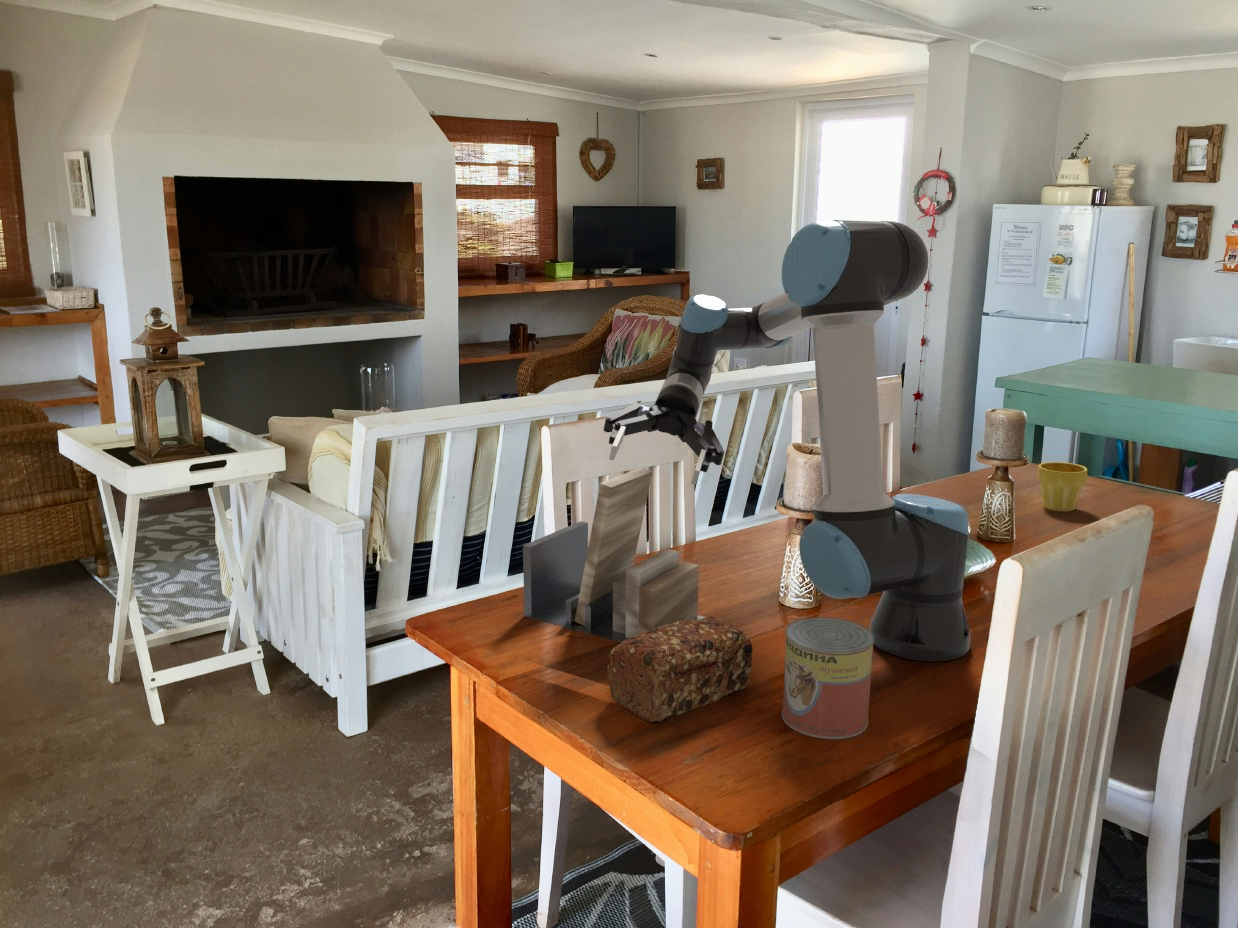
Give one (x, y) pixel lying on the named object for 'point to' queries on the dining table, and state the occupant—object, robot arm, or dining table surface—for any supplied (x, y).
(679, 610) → the offcut stack
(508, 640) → the dining table surface
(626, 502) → the plywood sheet
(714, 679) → the bread
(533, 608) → the metal rack
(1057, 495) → the plant pot
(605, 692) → the dining table surface
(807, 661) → the canned food
